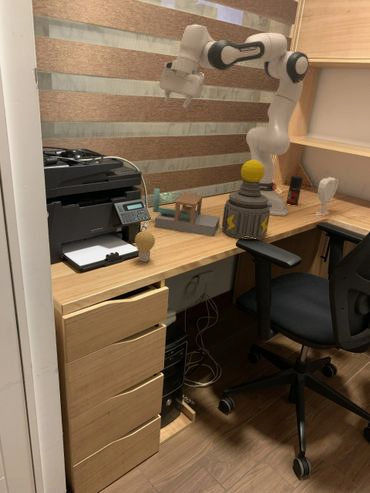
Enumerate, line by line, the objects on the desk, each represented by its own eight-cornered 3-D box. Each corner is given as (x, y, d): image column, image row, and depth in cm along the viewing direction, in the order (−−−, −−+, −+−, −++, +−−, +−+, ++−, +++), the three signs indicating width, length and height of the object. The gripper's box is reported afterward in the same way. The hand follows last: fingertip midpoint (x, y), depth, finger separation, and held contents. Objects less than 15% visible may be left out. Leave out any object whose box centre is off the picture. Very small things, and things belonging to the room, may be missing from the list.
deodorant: (299, 204, 206) (304, 177, 200) (294, 206, 201) (299, 178, 196) (289, 202, 209) (294, 175, 203) (284, 203, 205) (289, 176, 199)
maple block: (193, 216, 159) (194, 207, 158) (191, 219, 155) (192, 209, 154) (184, 215, 160) (185, 205, 158) (182, 217, 156) (182, 208, 155)
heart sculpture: (320, 217, 187) (328, 181, 180) (310, 214, 190) (318, 179, 184) (332, 211, 198) (341, 177, 191) (323, 209, 201) (331, 175, 194)
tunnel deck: (218, 225, 163) (222, 198, 159) (213, 236, 150) (217, 207, 146) (164, 217, 168) (166, 190, 163) (154, 226, 155) (156, 198, 150)
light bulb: (140, 265, 121) (141, 236, 117) (130, 258, 125) (131, 230, 122) (157, 262, 124) (159, 233, 120) (147, 254, 129) (148, 227, 125)
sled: (197, 215, 160) (199, 192, 156) (194, 219, 154) (196, 196, 150) (155, 209, 163) (156, 186, 160) (150, 213, 157) (151, 190, 154)
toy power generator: (275, 235, 158) (288, 162, 146) (248, 244, 145) (260, 166, 134) (239, 222, 170) (249, 154, 158) (211, 230, 157) (220, 157, 146)
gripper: (210, 75, 144) (199, 112, 149) (172, 67, 156) (163, 102, 160) (200, 70, 140) (189, 108, 144) (162, 62, 151) (153, 98, 155)
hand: (175, 105), depth 152 cm, fingers open, 8 cm apart
